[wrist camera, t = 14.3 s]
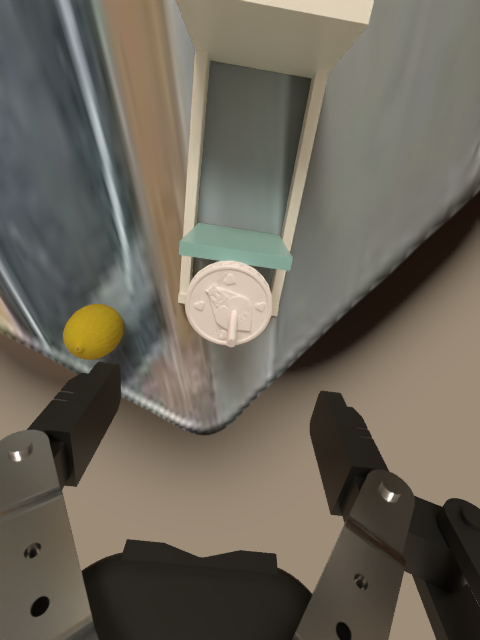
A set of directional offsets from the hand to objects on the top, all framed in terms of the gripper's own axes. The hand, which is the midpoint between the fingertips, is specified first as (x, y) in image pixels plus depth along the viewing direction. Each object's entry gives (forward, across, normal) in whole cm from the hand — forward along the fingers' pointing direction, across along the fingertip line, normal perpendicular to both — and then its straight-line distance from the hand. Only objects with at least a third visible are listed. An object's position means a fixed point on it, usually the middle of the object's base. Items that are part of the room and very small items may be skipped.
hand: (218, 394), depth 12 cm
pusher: (+23, 0, -3) cm, 23 cm away
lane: (+24, 0, -7) cm, 25 cm away
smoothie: (+20, 0, 0) cm, 20 cm away
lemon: (+24, +14, +9) cm, 29 cm away
